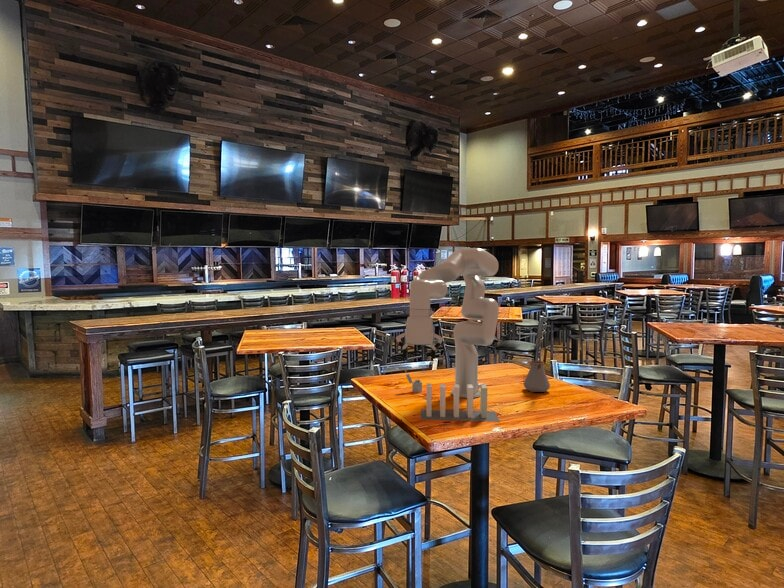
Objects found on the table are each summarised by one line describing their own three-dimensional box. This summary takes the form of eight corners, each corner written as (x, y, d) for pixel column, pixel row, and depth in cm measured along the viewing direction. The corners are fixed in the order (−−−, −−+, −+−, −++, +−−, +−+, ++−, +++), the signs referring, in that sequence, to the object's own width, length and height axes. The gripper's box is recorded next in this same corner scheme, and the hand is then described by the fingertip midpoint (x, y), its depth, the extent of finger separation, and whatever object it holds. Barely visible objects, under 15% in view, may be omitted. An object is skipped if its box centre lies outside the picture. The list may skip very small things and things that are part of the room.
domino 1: (426, 416, 173) (426, 386, 173) (426, 412, 178) (426, 383, 178) (431, 416, 173) (431, 386, 173) (431, 412, 178) (431, 383, 178)
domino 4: (467, 417, 172) (468, 387, 172) (466, 413, 177) (467, 384, 177) (472, 417, 172) (473, 387, 172) (471, 413, 177) (472, 384, 177)
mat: (420, 420, 170) (420, 419, 170) (420, 410, 182) (420, 409, 182) (499, 422, 168) (499, 421, 168) (494, 412, 180) (494, 411, 180)
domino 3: (454, 417, 173) (454, 387, 172) (453, 413, 178) (453, 384, 177) (459, 417, 173) (459, 387, 172) (458, 413, 178) (458, 384, 177)
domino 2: (440, 416, 173) (440, 387, 172) (439, 412, 178) (440, 383, 177) (445, 417, 173) (445, 387, 172) (444, 412, 178) (445, 383, 177)
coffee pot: (522, 386, 219) (523, 354, 218) (548, 388, 216) (549, 355, 215) (524, 399, 198) (525, 363, 197) (553, 401, 195) (554, 365, 195)
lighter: (421, 391, 210) (421, 373, 210) (421, 392, 209) (422, 374, 208) (405, 391, 210) (405, 373, 210) (405, 392, 208) (405, 374, 208)
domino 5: (485, 413, 177) (485, 384, 176) (486, 418, 172) (487, 388, 171) (480, 413, 177) (480, 384, 176) (481, 418, 172) (482, 388, 171)
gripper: (443, 313, 177) (442, 358, 178) (397, 312, 178) (396, 357, 179) (443, 315, 169) (442, 362, 170) (395, 314, 171) (394, 361, 172)
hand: (419, 360), depth 175 cm, fingers open, 9 cm apart
